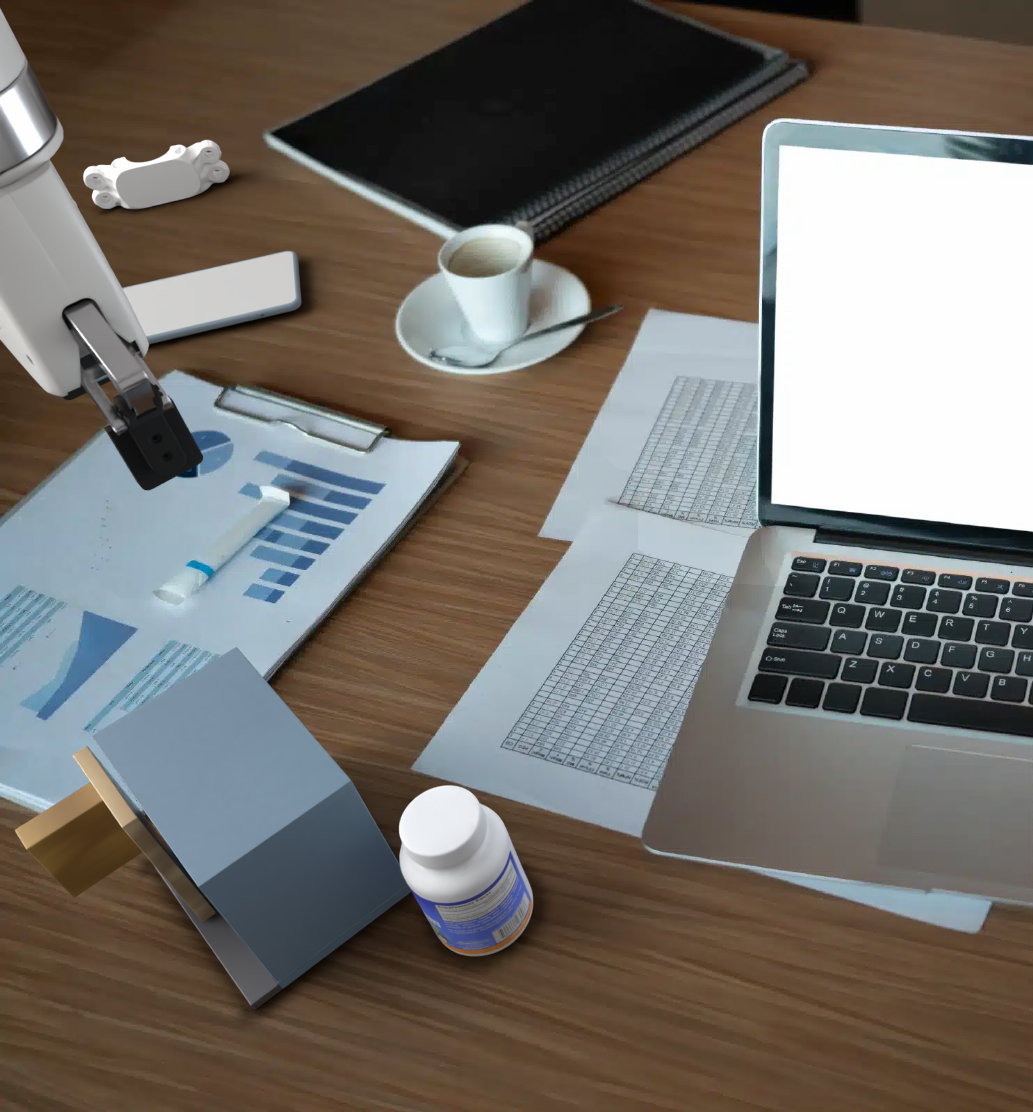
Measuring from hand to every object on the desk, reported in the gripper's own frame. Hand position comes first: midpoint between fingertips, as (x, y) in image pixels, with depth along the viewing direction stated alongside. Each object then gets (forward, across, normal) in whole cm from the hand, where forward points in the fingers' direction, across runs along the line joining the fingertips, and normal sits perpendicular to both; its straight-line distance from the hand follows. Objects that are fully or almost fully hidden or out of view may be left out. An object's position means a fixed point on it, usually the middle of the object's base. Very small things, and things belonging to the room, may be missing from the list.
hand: (131, 428), depth 67 cm
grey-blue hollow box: (+21, +14, -6) cm, 25 cm away
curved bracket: (+21, -58, +20) cm, 65 cm away
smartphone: (+20, -40, +15) cm, 47 cm away
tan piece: (+20, +11, -13) cm, 26 cm away
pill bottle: (+21, +24, 0) cm, 31 cm away
